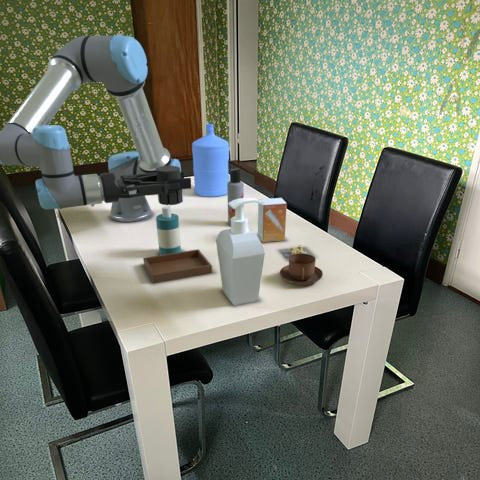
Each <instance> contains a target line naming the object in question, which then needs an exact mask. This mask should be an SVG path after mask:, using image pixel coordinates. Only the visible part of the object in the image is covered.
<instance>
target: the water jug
mask: <svg viewBox="0 0 480 480" xmlns="http://www.w3.org/2000/svg"><path fill="white" fill-rule="evenodd" d="M205 126H206V127H205V132H206V134H205V135H203V136H202V137H200V138H197V139H196V140H194V141H193V142H192V143H191V145H192V147H191V150H192V151H191V152H192V165H193V168H192V170H193V181H194V182H193V183H194V186H193V187H194V189H193V190H194V193H195V194H196V195H198V196H200V197H201V196H202V197H205V198H206V197H207V198H208V197H209V198H211V197H212V198H216V197H222V196H225V195H227V183H228V182H230V174H229V159H230V144H229V142H228V141H227V139H223V138H222V137H220V136H218V135H215V132H214V130H215V129H214V123H205Z"/></svg>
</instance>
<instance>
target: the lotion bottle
mask: <svg viewBox="0 0 480 480" xmlns="http://www.w3.org/2000/svg"><path fill="white" fill-rule="evenodd" d="M241 176H242V173H241V169H240V167H233V168H231V169H229V182H228V183H227V194H226V195H227V224H228V225H229V226H230V227H231V218H233V217H235V209H233V208H232V207H231V206H229V204H228V203H229V202H231V201H233V200H236V199H240V198H244V182H243V181H242V177H241Z"/></svg>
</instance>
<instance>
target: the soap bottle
mask: <svg viewBox="0 0 480 480" xmlns="http://www.w3.org/2000/svg"><path fill="white" fill-rule="evenodd" d="M251 203H256V204H258V203H259V204H263V202H262V201H260V200H259V199H257V198H253V197H243V198H240V199H236V200H233V201H231V202H229V203H228V202H227V205H228V204H229V206H231V207H232V208H233V209H235V217H233V218H231V226H230V228H228V229H222V230H221V231H219V232H218V234H217V236H216V239H215V244H216V250H217V259H218V265H219V266H218V267H219V273H220V279H221V280H220V281H221V287H222V293H224V295H225V296H226V297H227V298H228V300H229V302H230V303H231V304H232V305H233V306H238V305H244V304H249V303H252V302H253V303H254V302H257V301H258V299H259V294H260V288H261V282H262V274H263V268H264V262H265V255H266V253H265V250H264V249H265V248H264V246H263V244H262V241H261V240H260V238H259V237H258V234H257V232H255V231H254V230H253V229H252V228H251V227H249V218H248V217H246V216H245V215H244V210H245V209H244V206H245V205H246V204H251Z"/></svg>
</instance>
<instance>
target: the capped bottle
mask: <svg viewBox="0 0 480 480" xmlns="http://www.w3.org/2000/svg"><path fill="white" fill-rule="evenodd" d="M171 208H172V207H171V205H163V206H162V207H161V214H157V215H156V217H155V222H156V233H157V243H158V244H157V245H158V250H159V255H165V254H172V253H178V252H182V248H181V247H182V245H181V243H182V242H181V233H180V232H181V231H180V222H179V221H180V220H179V215H178V214H177V213H172V209H171Z"/></svg>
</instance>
